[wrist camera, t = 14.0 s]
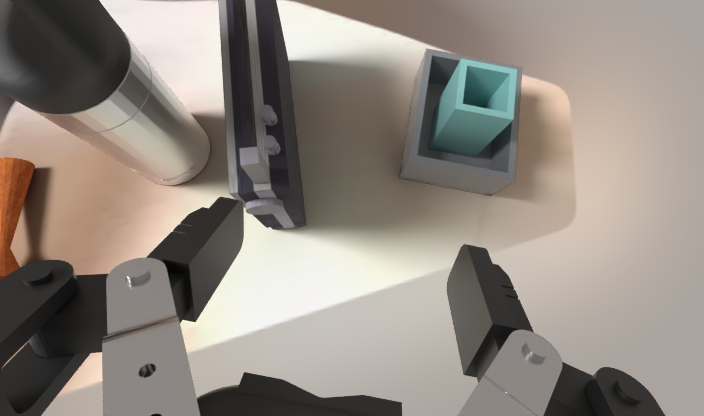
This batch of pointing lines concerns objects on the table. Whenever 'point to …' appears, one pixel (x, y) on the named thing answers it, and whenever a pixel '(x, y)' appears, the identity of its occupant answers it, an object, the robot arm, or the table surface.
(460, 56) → the big crate
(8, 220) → the kendama
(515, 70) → the box
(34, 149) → the table surface
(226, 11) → the radio
